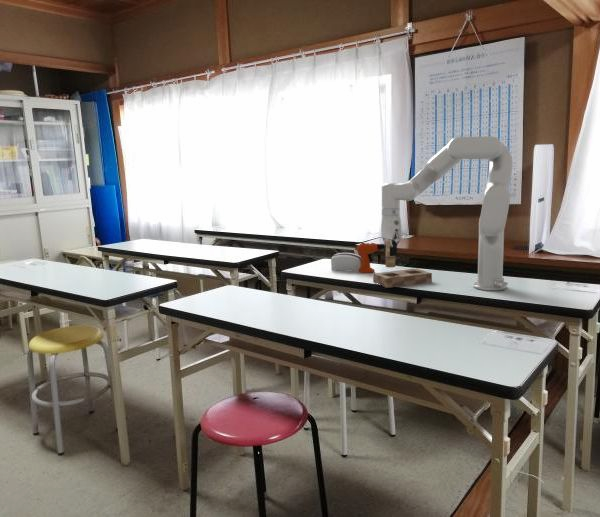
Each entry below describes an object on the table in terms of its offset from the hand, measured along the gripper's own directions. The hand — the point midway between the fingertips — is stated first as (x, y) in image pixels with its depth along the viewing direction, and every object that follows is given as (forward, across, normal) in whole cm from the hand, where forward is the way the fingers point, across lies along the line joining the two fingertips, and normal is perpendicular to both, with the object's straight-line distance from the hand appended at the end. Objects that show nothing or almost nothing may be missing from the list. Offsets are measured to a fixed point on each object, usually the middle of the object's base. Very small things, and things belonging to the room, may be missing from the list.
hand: (390, 254), depth 224 cm
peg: (+5, 0, 0) cm, 5 cm away
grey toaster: (+13, +36, +4) cm, 39 cm away
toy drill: (+13, +24, -6) cm, 28 cm away
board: (+13, 0, -6) cm, 14 cm away
